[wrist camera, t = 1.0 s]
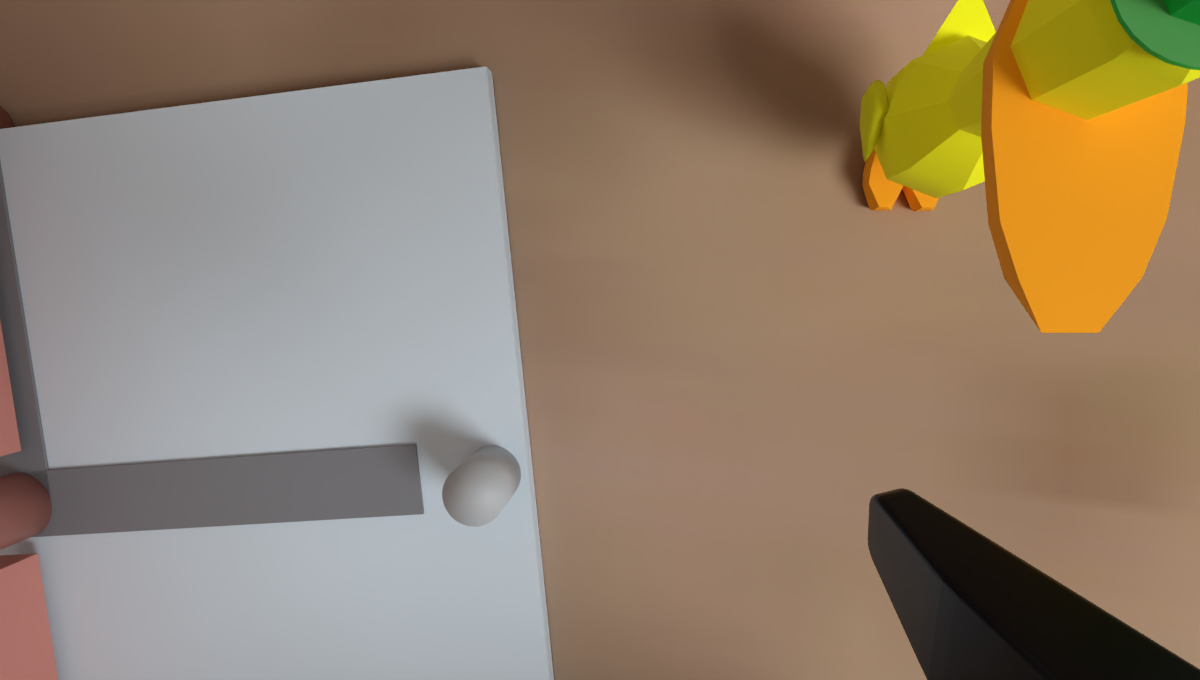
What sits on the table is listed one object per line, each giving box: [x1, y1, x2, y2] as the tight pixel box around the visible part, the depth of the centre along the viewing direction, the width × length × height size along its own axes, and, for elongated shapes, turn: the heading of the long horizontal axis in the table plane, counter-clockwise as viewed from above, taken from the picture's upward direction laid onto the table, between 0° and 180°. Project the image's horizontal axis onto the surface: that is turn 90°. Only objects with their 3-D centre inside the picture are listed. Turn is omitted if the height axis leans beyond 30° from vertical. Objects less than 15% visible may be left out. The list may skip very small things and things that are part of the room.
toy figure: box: [860, 0, 1200, 333], centre depth 13 cm, size 7×4×12 cm, turn 1°
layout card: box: [0, 66, 554, 680], centre depth 20 cm, size 23×21×3 cm
